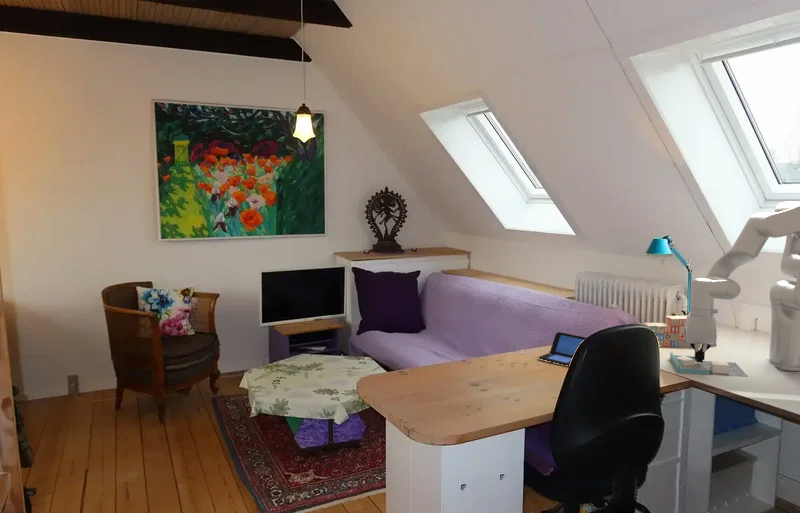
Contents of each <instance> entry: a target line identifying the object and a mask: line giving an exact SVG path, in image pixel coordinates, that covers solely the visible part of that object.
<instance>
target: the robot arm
mask: <svg viewBox="0 0 800 513" xmlns="http://www.w3.org/2000/svg"><path fill="white" fill-rule="evenodd" d="M782 237H786V238H785V244H784V249H783V254H782V257H781V262H780V271H781V272H782V274H783V275H785V276H788V277H790V278H794V279H796V281H794V280H793V281H792V280H788V279H785V280H784V279H783V280H782V279H781V280H779V281H776V282H775V283H773V285H772V286H771V287H770V290H769V301H770V308H771V310H770V311H771V313H770V314H771V320H770V336H769V352H768V353H769V356H768V358H767V359H766V360H767V362H769V363H770V364H771V365H772V366H773V367H774V368H775V369H776V370H780V371H786V372H787V371H790V372H797V371H798V372H799V371H800V201H784V202H780V203H778V204H777V205H776V207H775V209H774V212H757V213H756V212H755V213H754V214H751V216H750V217H749V218H748V220H747V221H746V224H745V225H744V226H743V228H742V230H741V231H740V234H739V235H738V236H737V239H736V240H735V241H734V243H733V245H732V247H731V248H730V249H729V250H728V251H726V252H725V253H724V254H722V255H721V257H720V258H719V259H717V260H716V261H715V262H714V264H713V265H712V266H711V268H710V270H709V272H708V273H707V275H706V277H697V278H693V279H691V281H690V296H689V297H690V300H689V302H690V303H689V314H687V315H686V316H687V318H686V323H685V332H684V338H685V340H684V344H685V345H687V346H691V347H692V349H693V350H694V356H695V359H696V361H695V362H697V363H700V364H701V363H703V361H705V357H706V356H705V355H706V352H707V351H708V350H709V349H710V348H716V347H717V346H718V344H717V338H718V335H717V334H718V332H717V321H716V317H715V315H716V314H718V313H719V312H718V309H715V308H714V306H715V305H714V304H715V303H714V301H715V300H716V299H718V300H723V301H725V300H726V301H729V300H734V299H736V298H738V297H739V295H740V293H741V290H742V289H741V286H740V284H739V283H738V282H737V281H736V280H734V279H732V278H730V276H731V274H732V273H733V272H735V271H736V269H738V268H739V267H741V266H743V265H746V264H749V263H751V262H753V261H755V260H756V259H757V258H758V256H759V254H761V251H762V249H763V248H764V246H765V245H766V243H767V241H768V240H769V239H770V238H773V239H774V238H775V239H777V238H782ZM698 344H701V348H700V349H699V347H698Z"/></svg>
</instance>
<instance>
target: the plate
mask: <svg viewBox="0 0 800 513" xmlns="http://www.w3.org/2000/svg"><path fill="white" fill-rule="evenodd" d="M710 361H711V360H703V363H701V362H700V364H701V365H702V366H703V368H704V369H705V370H710ZM726 362H727V363H728V365H729V374H724V373H713V372H712V371H711V370H710V372H709V376H710V375H712V376H727V377H741V378H743V377H744V378H749V375H748V374H746V372H745V371H744V370H743V369H742V368H741V367H740V366H739V365H738V364H737V363H736V362H729V361H726Z"/></svg>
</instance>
